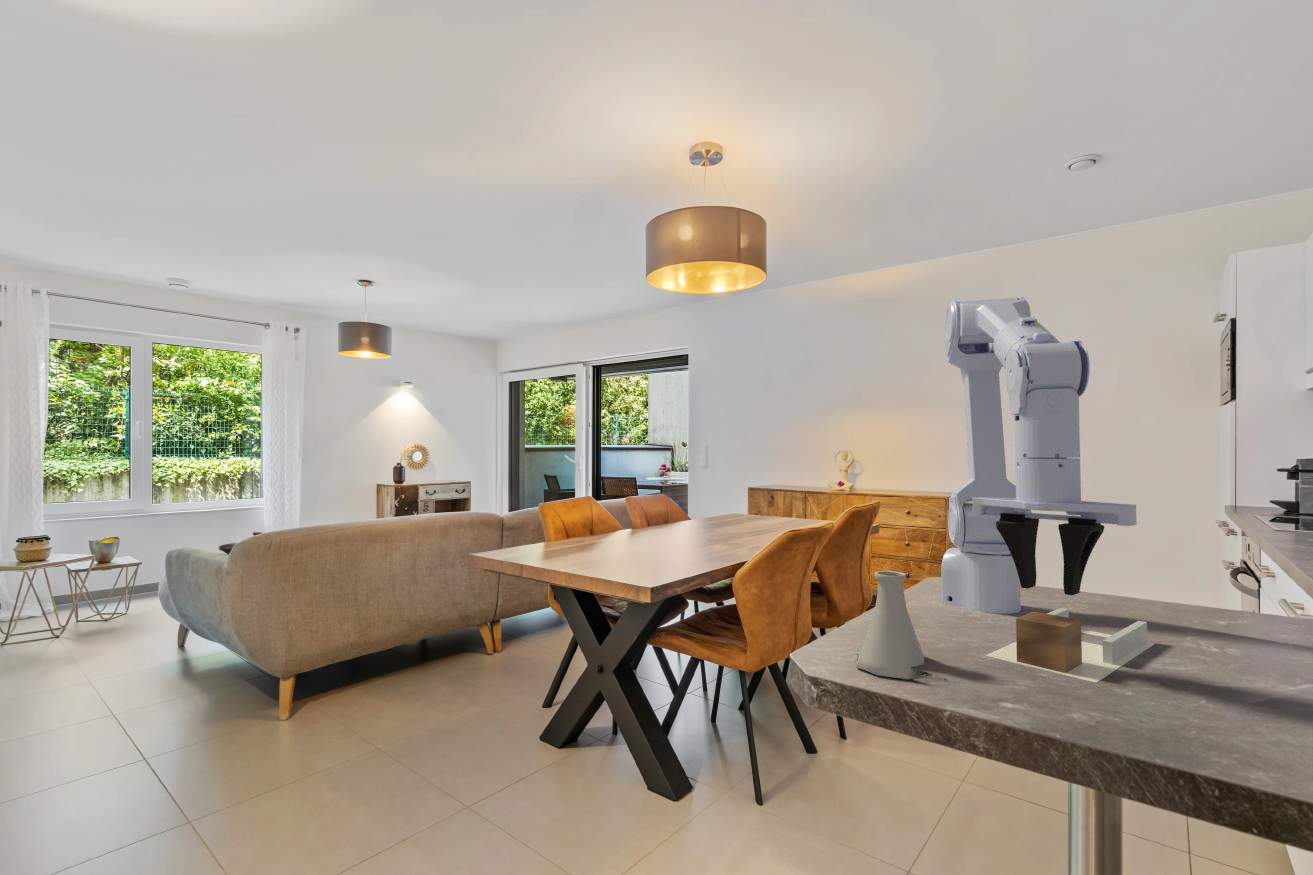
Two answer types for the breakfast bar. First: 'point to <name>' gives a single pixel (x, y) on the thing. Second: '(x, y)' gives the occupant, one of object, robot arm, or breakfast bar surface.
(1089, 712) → the breakfast bar surface
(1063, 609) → the trap channel
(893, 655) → the flask
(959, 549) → the robot arm
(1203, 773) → the breakfast bar surface
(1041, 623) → the walnut block
